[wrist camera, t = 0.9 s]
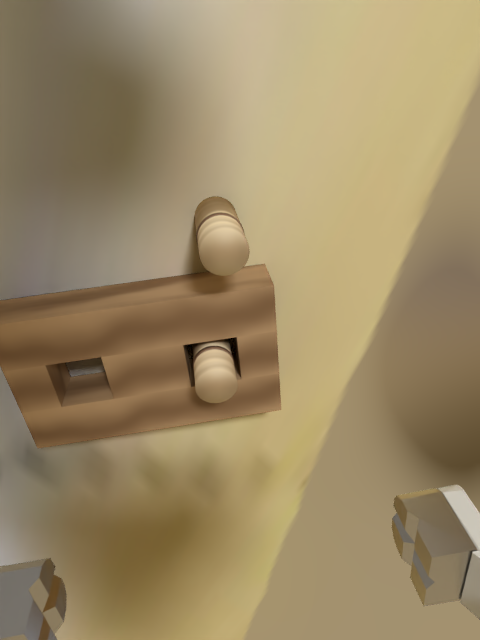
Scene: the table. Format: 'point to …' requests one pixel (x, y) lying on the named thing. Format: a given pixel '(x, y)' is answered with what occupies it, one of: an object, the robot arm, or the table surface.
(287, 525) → the table surface
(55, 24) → the table surface
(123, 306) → the board
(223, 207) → the leg
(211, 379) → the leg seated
